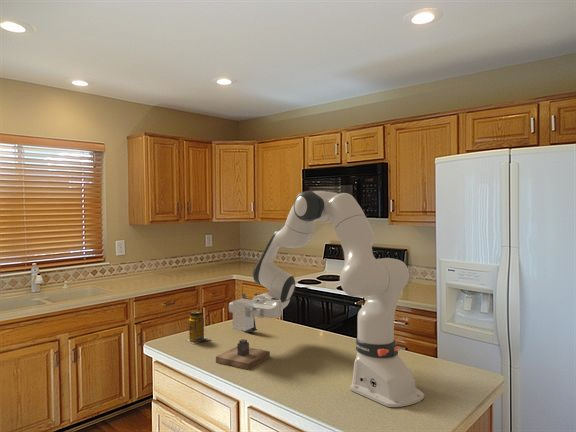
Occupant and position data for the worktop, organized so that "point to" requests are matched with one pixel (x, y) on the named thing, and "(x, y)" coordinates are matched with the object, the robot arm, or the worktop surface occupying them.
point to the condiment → (196, 328)
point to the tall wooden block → (243, 314)
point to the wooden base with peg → (243, 356)
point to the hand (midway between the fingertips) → (241, 313)
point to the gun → (254, 320)
